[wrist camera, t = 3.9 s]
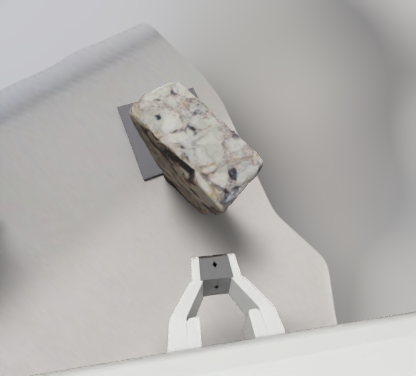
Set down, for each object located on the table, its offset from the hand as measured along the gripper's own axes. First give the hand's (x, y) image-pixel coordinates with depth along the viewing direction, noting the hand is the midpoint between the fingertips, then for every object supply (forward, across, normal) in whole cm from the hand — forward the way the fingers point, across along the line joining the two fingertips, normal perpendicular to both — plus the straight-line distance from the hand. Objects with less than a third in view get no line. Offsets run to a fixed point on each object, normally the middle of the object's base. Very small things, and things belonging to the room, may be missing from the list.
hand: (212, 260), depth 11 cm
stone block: (+22, +1, +7) cm, 23 cm away
